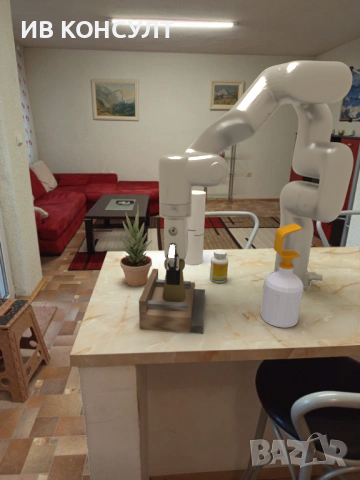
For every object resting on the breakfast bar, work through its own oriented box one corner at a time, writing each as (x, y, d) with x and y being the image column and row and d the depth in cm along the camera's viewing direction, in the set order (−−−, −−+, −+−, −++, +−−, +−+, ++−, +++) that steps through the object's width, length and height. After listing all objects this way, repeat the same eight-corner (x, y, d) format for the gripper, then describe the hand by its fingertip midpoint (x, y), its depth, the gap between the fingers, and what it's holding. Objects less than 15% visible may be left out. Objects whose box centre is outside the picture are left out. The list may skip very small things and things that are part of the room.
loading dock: (204, 295, 90) (206, 271, 88) (203, 333, 74) (204, 305, 71) (153, 292, 92) (152, 268, 89) (139, 328, 75) (138, 300, 72)
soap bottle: (304, 327, 77) (321, 231, 69) (267, 329, 76) (280, 231, 68) (288, 308, 85) (302, 220, 77) (255, 309, 84) (265, 220, 76)
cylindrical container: (184, 256, 118) (185, 190, 110) (203, 258, 117) (206, 190, 109) (181, 264, 112) (183, 193, 103) (201, 265, 111) (205, 194, 102)
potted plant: (128, 292, 92) (125, 208, 84) (116, 279, 99) (112, 202, 91) (158, 284, 97) (158, 205, 89) (145, 272, 104) (143, 198, 96)
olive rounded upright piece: (186, 292, 84) (188, 253, 80) (184, 304, 78) (185, 263, 75) (164, 290, 84) (164, 252, 81) (160, 302, 79) (160, 261, 75)
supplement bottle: (206, 277, 102) (208, 249, 99) (220, 274, 104) (222, 247, 101) (215, 284, 97) (217, 255, 94) (230, 281, 99) (232, 253, 96)
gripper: (188, 219, 65) (187, 293, 71) (193, 201, 82) (192, 262, 87) (153, 218, 66) (154, 291, 72) (164, 200, 82) (165, 261, 88)
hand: (175, 275), depth 80 cm, fingers open, 9 cm apart
